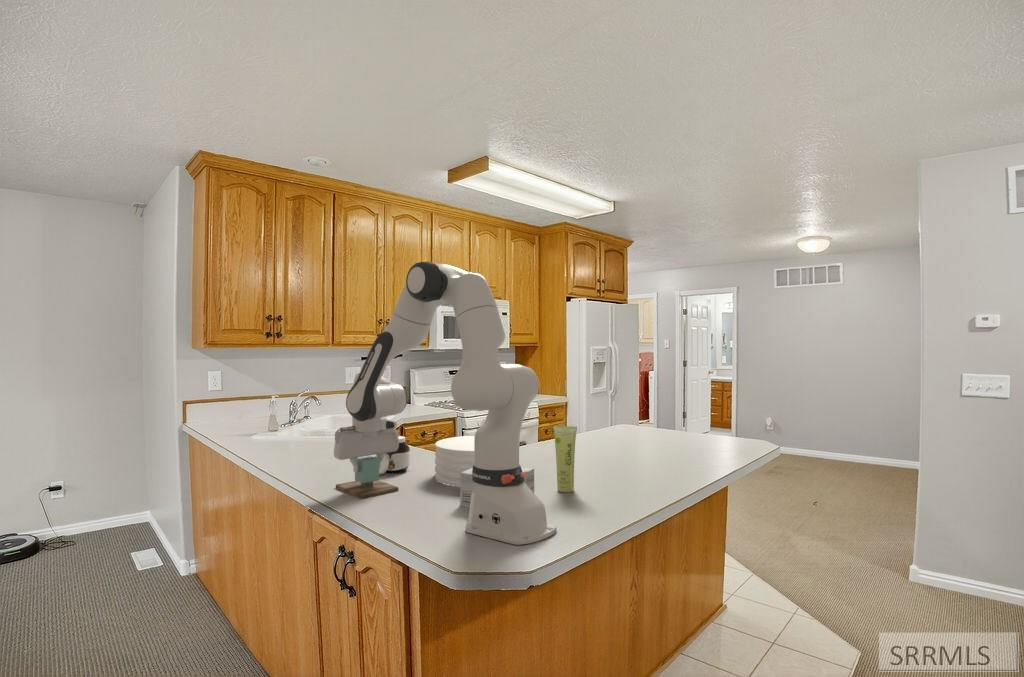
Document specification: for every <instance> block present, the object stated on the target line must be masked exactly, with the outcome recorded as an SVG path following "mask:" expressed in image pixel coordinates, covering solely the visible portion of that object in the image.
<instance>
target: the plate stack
mask: <svg viewBox="0 0 1024 677" xmlns="http://www.w3.org/2000/svg"><path fill="white" fill-rule="evenodd" d="M474 437H475V435H464V436H463V435H460V436H454V437H453V436H452V437H447V438H443V439H439V440H437V441H435V444H434V448H435V452H434V456H435V459H434V464H435V465H434V472H435V474H434V479H436V480H438V481H439V482H441V483H440V484H442V483H445V484H449V485H454V486H453V487H455V486H460V473H461V472H463V471H466V470H468V469H471V468H473V465H474ZM436 480H435V481H436ZM438 481H437V482H438ZM439 482H438V483H439ZM445 484H444V485H445ZM449 485H448V486H449Z"/></svg>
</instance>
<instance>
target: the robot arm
mask: <svg viewBox="0 0 1024 677" xmlns="http://www.w3.org/2000/svg"><path fill="white" fill-rule="evenodd" d="M440 306H441V307H442V306H443V307H451V308H453V312H454V316H455V320H456V321H455V322H456V324H457V328H458V332H459V337H460V341H461V346H462V347H461V348H462V357H461V364H460V367H459V369H458V370H457V372H456V373H455V374H454V376H453V377H452V381H451V386H450V391H451V396H452V399H453V401H454V403H455V404H456V405H457V406H458V407H460V408H461V409H463V410H467V411H468V410H469V411H476V412H484V411H487V415H486V416H485V417H486V418H485V419H484V422H482V424H481V425H480V426H479V427H478V429H477V430H476V432H475V433H474V436H475V437H474V465H473V470H472V480H473V481H474V486H473V491H472V494H471V501H470V507H469V512H468V519H467V522H466V523H467V524H466V525H465V532H466V533H468V534H472V535H476V536H479V537H480V536H481V537H483V538H487V539H491V540H496V541H499V542H503V543H508V544H511V545H514V546H515V545H517V546H519V545H527V544H532V543H533V544H534V543H537V542H540V541H541V540H544V539H547V538H550V537H551V536H553V535H554V534H555V533H556V532H557V525H555V524H553V523H550V522H549V521H547V513H546V508H545V505H544V503H543V502H542V500H541V499H540V498H539V497H538V496H537V495H536V494H535V492H534V493H533V492H532V491H531V489H530V488H529V487H528V486H527V485H526V484H525V482H524V481H525V479H524V477H525V476H528V475H524V474H526V473H527V471H525V472H522V469H521V467H522V466H521V464H520V442H521V441H520V440H521V439H520V437H521V430H522V427H523V423H524V420H525V416H526V414H527V411H528V408H529V406H530V405H531V403H532V402H533V401H534V399H536V397H537V396H538V393H539V390H540V381H539V377H538V375H537V374H536V371H534V369H532V368H531V367H529V366H525V365H522V364H517V363H504V364H503V363H502V364H501V363H500V360H499V355H498V354H499V348H500V347H501V346H502V344H504V341H505V339H506V332H505V329H504V326H503V323H502V322H503V321H502V318H501V315H500V311H499V308H498V305H497V302H496V299H495V297H494V295H493V292H492V289H491V287H490V285H489V283H488V281H487V279H486V278H485V277H484V276H483V275H481V274H479V273H476V272H475V273H474V272H470V271H469V270H466V269H461V268H459V267H455V266H452V265H450V264H446V263H440V262H439V263H438V262H432V261H419V262H415V263H414V264H413V265H412V266H411V267H410V268H409V269H408V272H407V274H406V279H405V285H404V286H403V288H402V290H401V292H400V295H399V296H398V299H397V302H396V304H395V308H394V309H393V314H392V316H391V318H390V320H389V322H388V324H387V326H386V327H385V328H384V330H383V331H382V332H381V333H380V334H379V335H377V337H376V338H375V340H374V342H372V346H371V348H370V350H369V352H368V353H367V356H366V358H365V361H364V363H363V365H362V367H361V370H360V371H359V372H358V373H357V374H356V375H355V376H354V380H353V384H352V387H350V389H349V392H348V393H347V396H346V398H345V399H346V400H345V405H346V406H345V408H346V410H347V412H348V414H349V415H350V416H351V417H352V418H351V419H352V421H351V422H352V423H351V424H352V425H351V426H346V427H344V426H341V427H340V428H338V429H337V430H336V431H335V432H334V447H333V456H334V458H335V459H337V460H339V461H344V460H349V461H350V463H351V465H352V467H353V473H354V474H355V473H356V472H361V466H359V465H357V463H356V461H358V458H361V457H367V456H378V457H377V458H379V468H380V463H381V461H382V459H383V457H384V453H388V452H394V451H397V449H398V447H399V439H398V436H399V433H398V430H397V427H398V424H397V421H394V420H390V419H388V418H385V417H390V416H395V415H398V414H401V413H403V412H404V410H405V408H406V407H407V403H408V394H407V392H406V390H405V388H404V387H403V386H402V385H401V384H399V383H395V382H392V381H391V380H389V379H387V378H386V377H384V376H383V375H384V373H385V370H386V369H387V366H388V364H389V363H390V362H391V361H392V360H393V359H394V358H396V357H398V356H400V355H401V354H403V353H405V352H408V351H410V350H413V349H415V348H417V347H419V346H421V345H422V344H423V343H424V341H425V339H426V338H427V337H428V334H429V331H430V330H431V326H432V323H433V319H434V315H435V312H436V310H437V309H438V308H439V307H440Z"/></svg>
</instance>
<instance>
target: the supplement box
mask: <svg viewBox="0 0 1024 677" xmlns="http://www.w3.org/2000/svg"><path fill="white" fill-rule="evenodd" d="M521 469H522V472H525V471H527V473H526V474H524V475H528V476H525V477H524V479H525V481H524V482H525V484H526V485H527V486H528V487H529V488H530V489H531V491H532V492H533V493H534V494H535V468H531V467H523V466H521ZM472 470H473V468H471V469H468V470H466V471H463V472H461V473H460V487H459V488H460V492H459V494H460V496H459V497H460V498H459V499H460V500H459V504H460V505H459V506H461V505H466V506H465V507H468V506H470V501H471V494H472V491H473V486H474V481H473V480H472Z"/></svg>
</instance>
